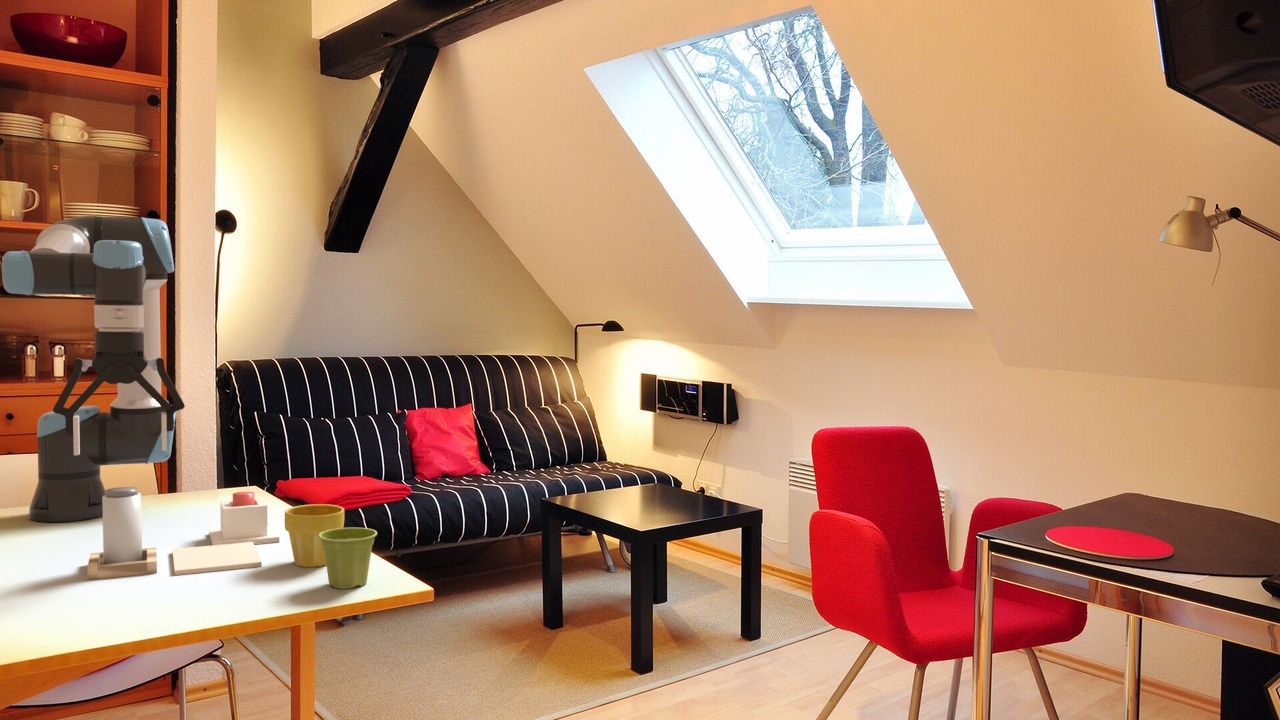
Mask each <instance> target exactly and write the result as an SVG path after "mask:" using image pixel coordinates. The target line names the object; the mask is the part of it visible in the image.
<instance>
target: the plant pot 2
mask: <svg viewBox="0 0 1280 720" xmlns="http://www.w3.org/2000/svg"><path fill="white" fill-rule="evenodd" d="M376 536H378V532H377V530H375V529H373V528H366V527H343V528H338V529H332V530H327V531H324V532H321V533H320V534H319V538H320V539H321V541H322V546H323V547H324V552H325V559H326V565H325V566H326V570H327V571H326V573H327V577H328V578H327V579H328V585H329V586H333V588H335V589H353V588H355V587H356V586H359V587H362V586H364V585H366V584H367V582H368V575H369V569H370V568H369V567H370V563H371V562H370V561H371V556H372V550H373V545H374V542H375V537H376Z"/></svg>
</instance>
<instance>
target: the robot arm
mask: <svg viewBox="0 0 1280 720" xmlns="http://www.w3.org/2000/svg"><path fill="white" fill-rule="evenodd" d="M1 261H2V262H1V276H2V277H1V279H2V280H1V281H2V284H3V288H4V290H5V291H6V292H7V293H9V294H14V295H15V294H16V295H17V294H18V295H26V296H30V295H73V296H94V305H93V307H94V308H93V309H94V310H93V311H94V313H93V315H94V316H93V317H94V327H95V328H96V329H98V330H97V331H96V332H94V358H93V359H82V358H80V357H77V358H76V359H75V360H74V361H73V371H72V373H71V375H70V377H69V379H68V381H67V382H66V385H65V386H64V387H63V389H62V391H61V393H60V395H59V397H58V399H57V401H56V403H54V406H53V408H52V411H49V412H45V413H43V414H41V416H40V417H39V418H38V420H37V434H36V436H35V437H36V438H37V470H38V471H37V472H38V475H37V477H38V481H37V485H36V487H35V491H34V494H33V496H32V500H31V503H30V505H29V511H28V512H29V520H31V521H35V522H43V523H62V522H63V523H64V522H75V521H82V520H83V521H84V520H89V519H94V518H99V517H103V506H102V496H104V495H106V492H105V491H106V489H105V486H104V483H103V481H102V478H101V466H115V465H116V466H117V465H119V466H120V465H139V464H145V465H149V464H155V463H162V462H163V463H164V462H166V461H168V460H169V459H170V457H171V453H172V447H173V439H174V431H175V425H176V424H175V423H176V417H177V412H178V411H181V410H183V409H184V408H185V403H184V400H182V398H181V397H182V396H180V394H179V392H178V390H177V389H176V387H175V385H174V384H173V381H172V380H171V378H170V376H169V374H168V372H167V371H166V368H165V360H164V358H163V357H162V355H161V349H162V347H161V342H162V341H161V298H160V297H161V290H160V289H161V287H162V286H163V285H165V283H167V281H168V274H171V273H174V272H175V265H174V259H173V251H172V244H171V238H170V234H169V229H168V224H166V222H165V221H163V220H161V219H157V218H150V217H148V218H147V217H142V216H141V217H131V216H129V217H128V216H126V217H125V216H105V215H104V216H98V215H81V216H76V217H71V218H67V219H63V220H60V221H57V222H54V223H52V224H50V225H48V226H47V227H46V228H44V229H43V230H42V231H40V233H39V234H38V237H37V239H36V241H35V245H34V247H32V249H31V250H30V251H25V250H20V251H19V250H18V251H15V250H12V251H10V250H9V251H6V252H5V253H4V255H3V256H2V260H1ZM89 367H92V368H93V369H94V370H95V372H96V374H98V375H97V376H96V378H94V380H93V381H92V383H90V384H89V386H87V388H85V390H84V391H83V392H82V393H81V394H80V395H79V396H78V398H76V400H75V401H73V403H72V404H71V405H70V406H69V407H66V406H65V405H66V403H67V401H68V400H69V398H70V395H71V394H72V391H73V390H74V388H75V387H76V386H77V385H76V384H77V383H78V381H79V378H80V377H81V375H82V372H83V373H85V372H86V371H88V369H89ZM104 382H105V383H107V384H110V385H116V384H117V397H116V398H115V399H114V400H113V401H112V402H111V403H110V404H109V407H110V410H109V411H108V412H107V411H104V412H103V411H102V412H101V409H100V408H99V406H98V405H84V403H86V402H87V401H88V400H89V398H91V396H93V394H94V393H95V392H96V391H97V389H99V387H101V386H102V384H104ZM162 383H163V385H164V387H165V388H166V390H167V392H168V393H169V395H170V396H171V398H172V400H173V402H174V403H173V404H171V403H170V402H169V400H167V399H166V398H165V397H164V396H163V395H162ZM83 405H84V406H83Z"/></svg>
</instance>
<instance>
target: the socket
mask: <svg viewBox="0 0 1280 720" xmlns="http://www.w3.org/2000/svg"><path fill="white" fill-rule="evenodd" d="M86 570H87V571H86V573H87V574H86V576H87V581H89V580H99V579H100V580H101V579H109V578H119V577H131V576H139V575H150V574H157V573H158V561H157V547H148V548H142V561H135V562H124V563H113V564H104V555H103V552H90V553H89V558H88V562H87V568H86Z"/></svg>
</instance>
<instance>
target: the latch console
mask: <svg viewBox="0 0 1280 720" xmlns="http://www.w3.org/2000/svg"><path fill="white" fill-rule="evenodd" d="M219 507H220V508H219V509H220V511H219V512H220V513H219V514H220V528H210V529H208V534H209V539H210V542H211V545H221V544H232V543H243V542H253V543H254V545H261V544H272V543H273V544H274V543H280V536H279V534H278V532H277V529H276V528H275V526H274V524H273V523H270V524H268V505H267V503H266V501H265V499H264V498H263V497H261V498H260V497H259V498H254V505H249V506H236V507H233V499H232V500H231V499H230V500H220V503H219Z"/></svg>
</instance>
